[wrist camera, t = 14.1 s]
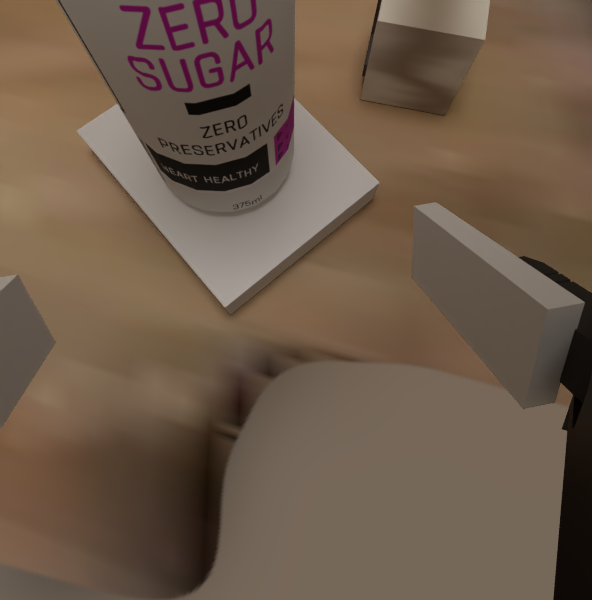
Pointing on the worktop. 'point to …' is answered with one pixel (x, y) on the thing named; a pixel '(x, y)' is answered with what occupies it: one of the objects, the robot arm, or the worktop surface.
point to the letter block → (422, 51)
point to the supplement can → (200, 89)
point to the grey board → (246, 222)
